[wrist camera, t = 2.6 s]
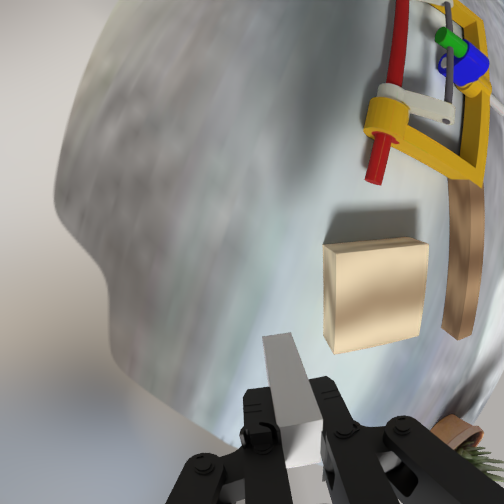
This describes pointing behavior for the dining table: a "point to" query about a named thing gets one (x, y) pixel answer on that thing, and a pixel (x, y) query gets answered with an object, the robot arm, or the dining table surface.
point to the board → (464, 256)
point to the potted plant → (466, 443)
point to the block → (373, 292)
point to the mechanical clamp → (405, 102)
